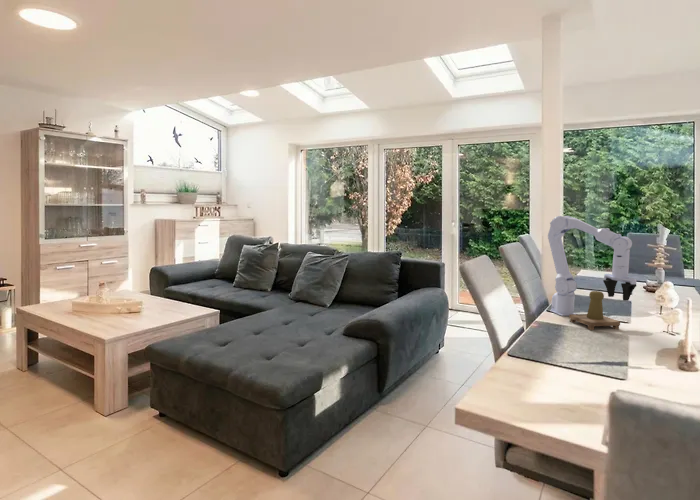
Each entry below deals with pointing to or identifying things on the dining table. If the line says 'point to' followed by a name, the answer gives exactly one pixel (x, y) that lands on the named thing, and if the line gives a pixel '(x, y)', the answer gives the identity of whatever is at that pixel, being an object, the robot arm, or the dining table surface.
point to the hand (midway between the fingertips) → (618, 298)
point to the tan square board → (594, 321)
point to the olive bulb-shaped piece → (595, 305)
